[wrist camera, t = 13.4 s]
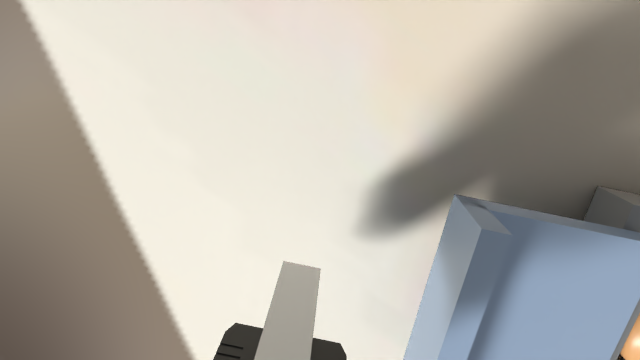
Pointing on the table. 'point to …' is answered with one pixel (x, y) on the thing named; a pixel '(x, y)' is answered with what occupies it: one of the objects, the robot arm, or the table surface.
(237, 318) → the table surface
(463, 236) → the lid
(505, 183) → the table surface
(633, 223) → the housing
